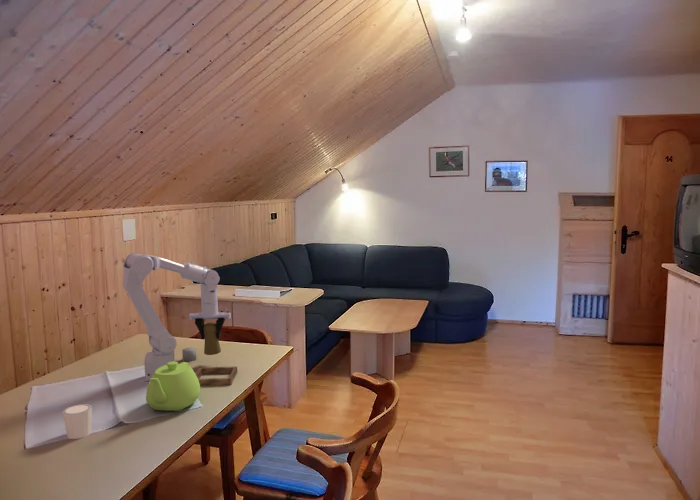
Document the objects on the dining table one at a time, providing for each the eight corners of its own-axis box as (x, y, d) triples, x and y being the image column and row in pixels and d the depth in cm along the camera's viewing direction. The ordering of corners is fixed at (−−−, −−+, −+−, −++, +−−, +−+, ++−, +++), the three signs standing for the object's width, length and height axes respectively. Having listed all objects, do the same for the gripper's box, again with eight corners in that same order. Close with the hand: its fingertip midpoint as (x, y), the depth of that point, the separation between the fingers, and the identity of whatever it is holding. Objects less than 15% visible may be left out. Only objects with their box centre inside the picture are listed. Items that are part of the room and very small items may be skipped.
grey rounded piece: (181, 362, 194) (180, 351, 194) (184, 357, 199) (184, 347, 199) (194, 361, 195) (194, 351, 194) (197, 357, 200) (197, 347, 199)
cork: (217, 354, 187) (215, 325, 185) (201, 355, 188) (199, 325, 186) (223, 349, 193) (220, 320, 191) (207, 349, 194) (205, 320, 192)
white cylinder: (86, 425, 143) (84, 401, 142) (98, 433, 138) (96, 407, 137) (60, 435, 137) (58, 409, 137) (71, 442, 133) (69, 416, 132)
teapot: (178, 424, 143) (175, 378, 141) (128, 420, 145) (125, 376, 144) (211, 393, 165) (209, 353, 163) (167, 390, 167) (165, 351, 165)
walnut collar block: (191, 385, 171) (191, 380, 170) (200, 372, 182) (199, 367, 182) (231, 384, 171) (231, 378, 171) (237, 371, 183) (237, 366, 183)
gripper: (231, 299, 192) (232, 334, 194) (192, 299, 191) (193, 335, 193) (228, 303, 185) (229, 340, 187) (186, 304, 184) (188, 341, 186)
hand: (211, 338), depth 189 cm, fingers closed on cork, 5 cm apart
